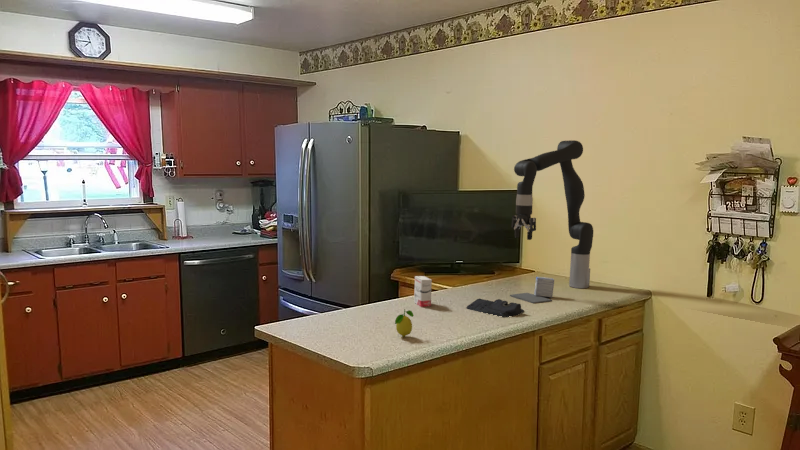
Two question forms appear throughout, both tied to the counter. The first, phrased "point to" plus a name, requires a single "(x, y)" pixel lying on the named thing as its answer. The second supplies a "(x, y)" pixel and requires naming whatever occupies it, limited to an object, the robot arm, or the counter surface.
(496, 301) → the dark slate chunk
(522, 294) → the mat
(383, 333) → the counter surface
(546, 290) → the medicine box
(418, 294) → the ink box
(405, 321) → the lemon
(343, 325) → the counter surface
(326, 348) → the counter surface
